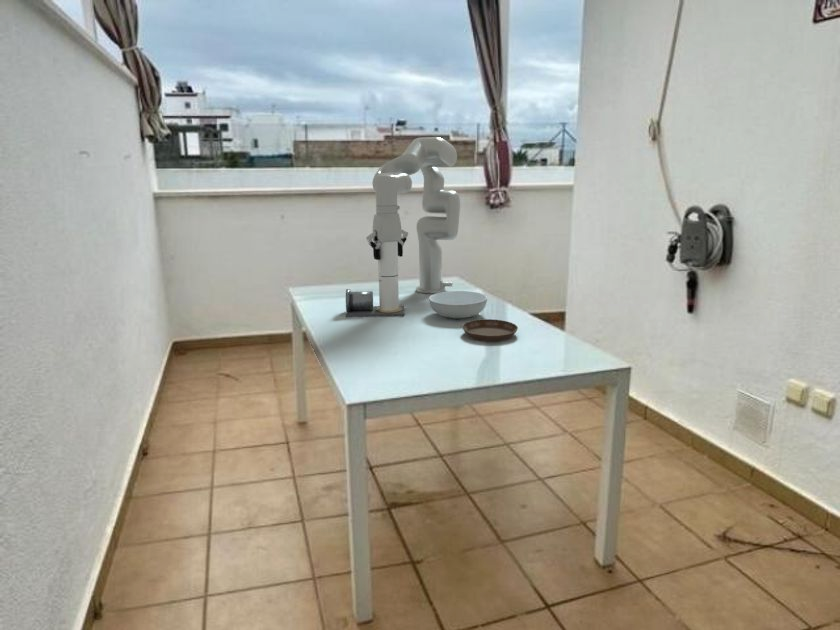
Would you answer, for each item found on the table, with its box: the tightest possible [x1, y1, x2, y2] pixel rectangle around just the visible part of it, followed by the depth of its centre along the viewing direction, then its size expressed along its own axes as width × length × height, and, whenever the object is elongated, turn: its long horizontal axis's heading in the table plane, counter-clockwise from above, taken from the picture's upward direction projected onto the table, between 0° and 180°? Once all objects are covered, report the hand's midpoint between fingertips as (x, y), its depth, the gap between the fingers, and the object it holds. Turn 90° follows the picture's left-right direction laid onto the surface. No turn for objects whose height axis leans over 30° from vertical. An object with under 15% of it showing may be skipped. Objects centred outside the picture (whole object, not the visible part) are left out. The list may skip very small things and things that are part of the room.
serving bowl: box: [428, 290, 488, 320], centre depth 213 cm, size 21×21×7 cm
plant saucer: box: [461, 318, 519, 342], centre depth 190 cm, size 18×18×3 cm
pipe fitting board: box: [345, 288, 405, 318], centre depth 218 cm, size 21×12×9 cm, turn 92°
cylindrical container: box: [377, 241, 400, 311], centre depth 216 cm, size 7×7×25 cm
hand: (388, 257), depth 214 cm, fingers open, 9 cm apart
